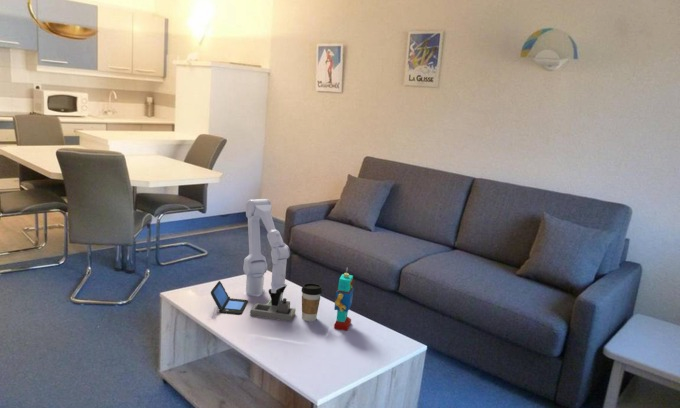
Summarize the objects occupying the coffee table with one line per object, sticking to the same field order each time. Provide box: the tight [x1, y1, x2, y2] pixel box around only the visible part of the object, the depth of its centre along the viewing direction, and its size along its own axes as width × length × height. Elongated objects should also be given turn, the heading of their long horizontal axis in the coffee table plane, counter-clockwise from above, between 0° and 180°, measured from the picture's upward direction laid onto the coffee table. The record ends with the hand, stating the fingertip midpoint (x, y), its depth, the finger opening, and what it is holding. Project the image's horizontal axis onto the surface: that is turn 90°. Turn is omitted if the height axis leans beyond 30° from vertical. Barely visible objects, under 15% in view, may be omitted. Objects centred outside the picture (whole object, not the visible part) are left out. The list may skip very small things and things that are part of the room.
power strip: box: [249, 302, 296, 322], centre depth 217 cm, size 8×17×3 cm, turn 82°
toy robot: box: [333, 267, 354, 332], centre depth 212 cm, size 12×6×25 cm, turn 168°
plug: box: [271, 289, 284, 306], centre depth 225 cm, size 4×4×8 cm
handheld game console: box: [210, 280, 249, 316], centre depth 221 cm, size 16×13×9 cm
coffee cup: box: [301, 282, 323, 322], centre depth 216 cm, size 8×8×15 cm
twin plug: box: [278, 297, 291, 314], centre depth 216 cm, size 4×4×8 cm
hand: (276, 303), depth 226 cm, fingers open, 5 cm apart
